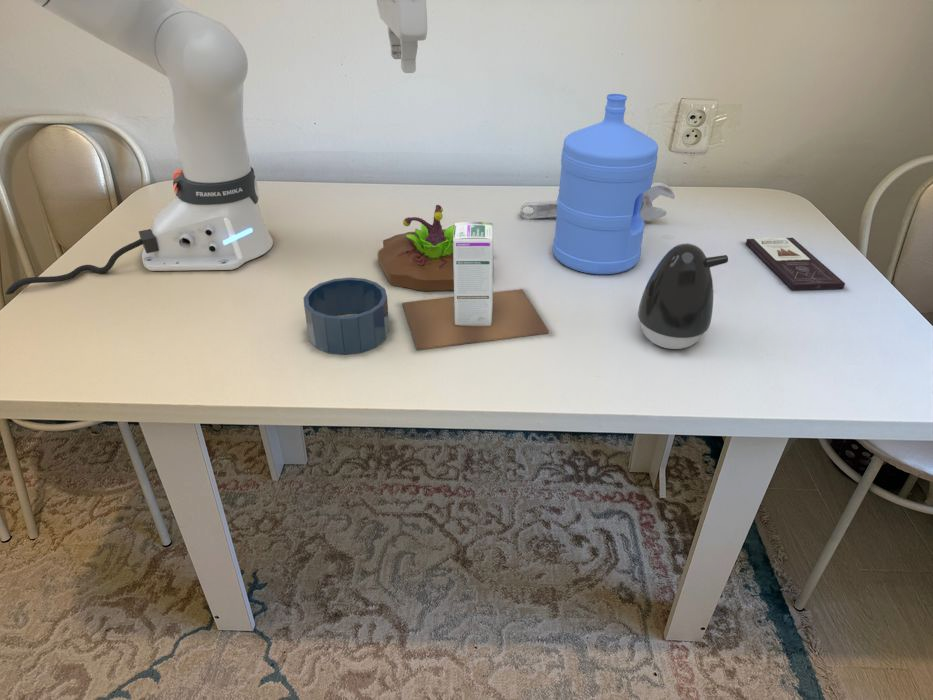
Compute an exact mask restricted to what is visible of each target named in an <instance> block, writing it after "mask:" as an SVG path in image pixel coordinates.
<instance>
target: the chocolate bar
mask: <svg viewBox="0 0 933 700" xmlns="http://www.w3.org/2000/svg"><path fill="white" fill-rule="evenodd" d="M745 245H747V247H749V249H750V250H752V252H753V253H754V254H755V255H756V256H757V257H758V258H760V260H761V261H762V262H764V264H765V265H767V267H768V268H769V269H771V271H773V273H774V274H775V275H776V276H777V277H778V278H779V279H780V280H781V281H782V282H783V283H784V284H785V285H786V286H787V287H788V288H789V289H790V290H791V291H804V290H805V291H807V290H810V291H811V290H837V289H841V290H842V289H844V288H845V285H846V282H845V281H843V280H842V279H841V278H840V277H838V275H837V274H835V272H833V271H832V270H831V269H830V268H828V267H827V266H826V265H825V264H824V263H822V262H821V260H819V259H818V258H817V257H815V255H813V253H811V252H810V251H808V250H807V248H805V247H804V246H803V245H802V244H801V243H799V242H798V241H797V240H796V239H795V238H794V237H771V238H770V237H765V238H764V237H763V238H747V239H746V241H745Z"/></svg>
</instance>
